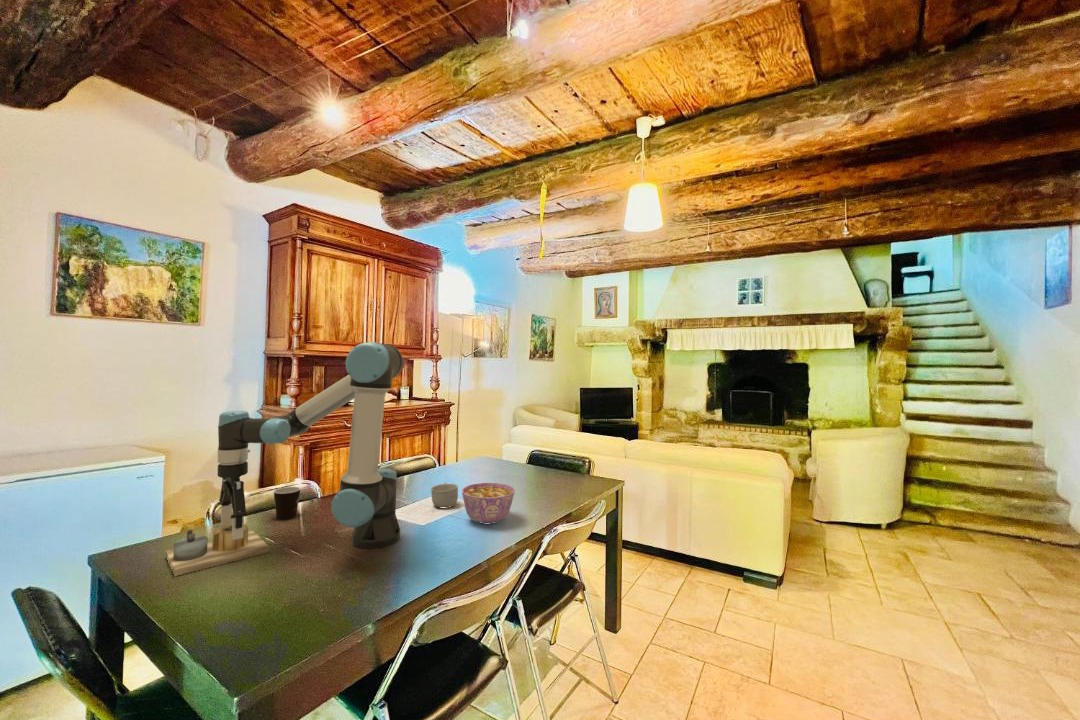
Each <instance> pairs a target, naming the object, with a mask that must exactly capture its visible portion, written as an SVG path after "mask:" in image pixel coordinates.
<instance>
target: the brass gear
mask: <svg viewBox="0 0 1080 720" xmlns="http://www.w3.org/2000/svg"><path fill="white" fill-rule="evenodd" d="M230 526H232V524H230V525H229V526H222V527H221V526H220V527H216V528H215V529H214V530H213V531H212V540H213V541H212V540H211V541H212V549H213V550H214V551H217V550H219V551H218V552H223V551H224V550H227V551H232V549H239V548H241V546H245V545H247V543H248V532H249V528H250V527H249V525H248V524H247V523H244V534H243V538H240V539H236V540H232V531H228V527H230Z"/></svg>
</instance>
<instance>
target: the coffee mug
mask: <svg viewBox="0 0 1080 720" xmlns="http://www.w3.org/2000/svg"><path fill="white" fill-rule="evenodd" d="M300 495H301V487H298V486H287V487H286V486H285V487H284V486H283V487H280V488H277V489H275V490H273V498H274V508H275V519H276V518H277V519H276V520H278V521H287V520H288V521H289V520H291V519H294V518H296V517H297V514H298V507H299V499H300Z"/></svg>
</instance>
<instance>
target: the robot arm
mask: <svg viewBox="0 0 1080 720" xmlns="http://www.w3.org/2000/svg"><path fill="white" fill-rule="evenodd" d="M402 354H403V353H401V351H400V350H399V349H398V348H397V347H395V346H394V345H391V344H388V343H379V342H374V341H373V342H372V341H371V342H370V341H368V342H362V343H359V344H357V345H356V346H354V347H353V348H351V349H350V350H349V353H348V354H347V356H346V359H345V370H346V372H347V375H346V376H344V377H342V378H341V379H340V380H338V381H336V382H335V383H333V384H332V385H330V386H328V387H327V388H326V389H324V390H322V391H320V393H318V394H316V395H314V396H313V397H311V398H310V399H308V400H306V401H305V402H303V403H302V404H300V405H299V406H297V407H296V408H294V409H293V410H291V411H290V412H289V411H288V413H286V414H281V415H275V416H271V417H266V418H265V417H264V418H260V417H258V418H254V417H250V414H249V412H248V411H247V410H231V411H223V412H222V413H220V414H219V416H218V426H217V429H218V430H217V431H218V437H217V438H218V447H217V463H218V464H217V477H218V478H222V479H221V480H222V481H221V489H220V496H219V499H218V501H219V503H220V506H221V507H220V528H221V527H222V526H229V525H230V524H232V540H236V539H240V538H243V534H244V524H245V523H244V522H245V519H244V518H245V516H246V515H247V508H246V507H247V506H246V499H245V486H244V485H245V482H244V481H242V480H241V477H242V476H245V475H247V474H248V471H249V462H248V460H249V459H248V458H249V457H248V456H249V453H250V452H251V450H250V449H249V444H267V445H268V444H269V445H275V444H283V443H285V442H286V440H288V439H289V438H292V437H296V436H300V435H302V434H304V433H306V432H307V431H308V429H309V428H310V427H311V426H312V425H315V424H316V423H317V422H319V421H320V420H323V419H324V418H325V417H327V416H328V415H330V414H332V413H333V412H335V411H336V410H338V409H340V408H341V407H343V406H344V405H347V403H350V402H351V401H352V400H353V409H352V410H353V411H352V419H351V427H350V428H351V430H350V438H349V448H348V457H347V458H348V459H347V468H346V472H345V473H344V474H343V475H342V476H341V477H340V483H339V491H338V492H337V493H336V494H335V495H334V497H333V499H332V501H331V506H330V508H331V513H332V516H333V517H334V519H335V520H336V521H337V522H338V523H339V524H340V525H342V526H345V527H347V528H353V530H352V534H351V543H352V545H353V546H354V547H356V548H360V549H361V548H362V549H378V548H384V547H388V546H391V545H393V544H395V543H396V542H398V541H399V540H400V539H401V527H400V525H399V521H398V519H397V518H398V517H397V514H396V513H397V512H396V509H397V508H396V507H397V482H398V478H397V475H396V474H397V472H396V470H395V471H394V469H390V468H379V460H380V450H381V442H382V433H383V432H382V431H383V421H384V409H385V400H386V394H387V393H388V392H389V391H391V390H392V383H393V379H395V378H396V377H397V376H398V375H399V374H400V373H401V372H402V370H403V368H404V367H403V366H404V357H403V355H402Z"/></svg>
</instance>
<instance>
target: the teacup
mask: <svg viewBox="0 0 1080 720" xmlns="http://www.w3.org/2000/svg"><path fill="white" fill-rule="evenodd" d="M458 488H459V486H458V485H457V484H456V483H448V482H443V483H440V484H435V485H434V486H432V487H431V488H430V489H431V490H430V491H431V501H432V504H433V505H434V506H435V507H436V508H438V507H449V506H452V505H453V506H454V505H455V504H456V503H457V502H458V498H459V491H458V490H459V489H458ZM453 506H452V507H453ZM449 508H450V507H449Z"/></svg>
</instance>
